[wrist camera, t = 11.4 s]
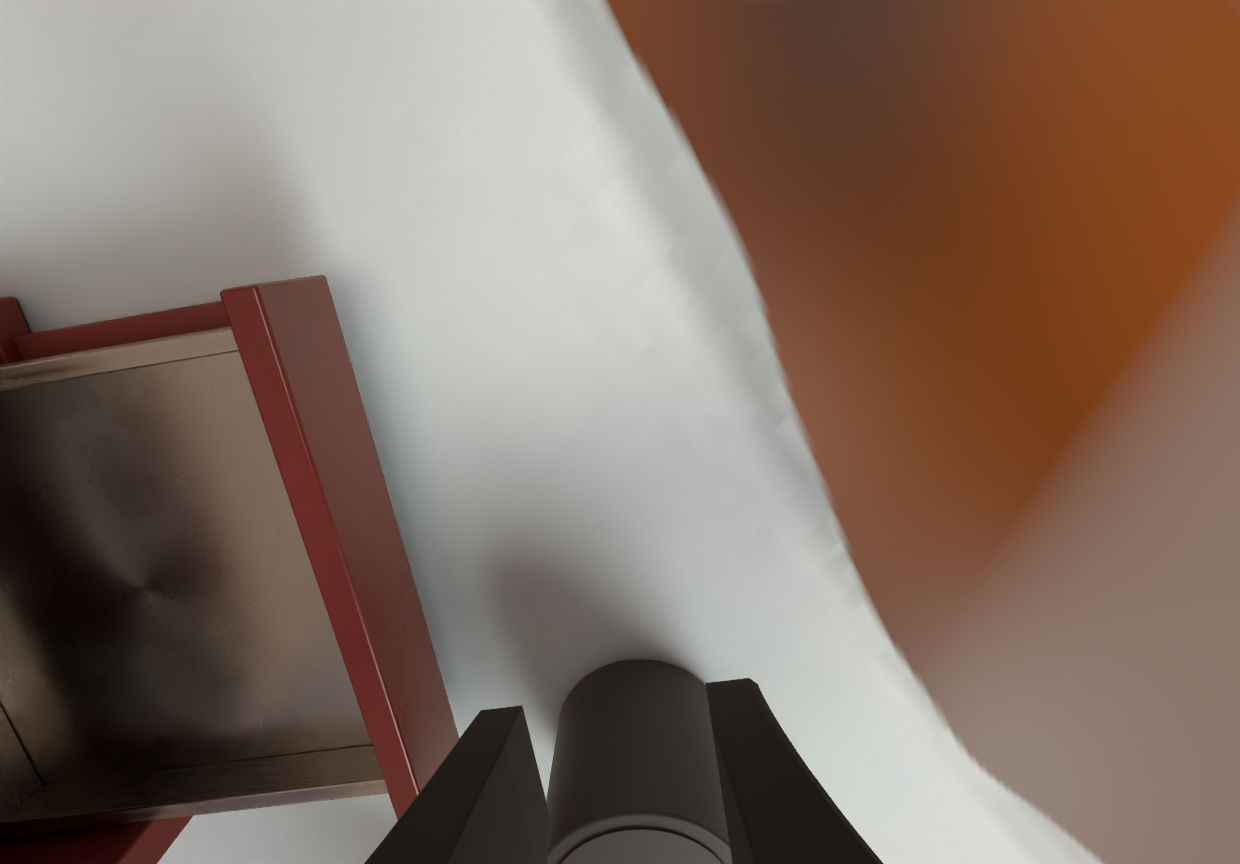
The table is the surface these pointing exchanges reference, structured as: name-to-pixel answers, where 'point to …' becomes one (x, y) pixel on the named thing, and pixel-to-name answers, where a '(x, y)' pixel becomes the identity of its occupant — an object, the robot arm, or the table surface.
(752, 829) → the robot arm
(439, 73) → the table surface
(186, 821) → the red toy microwave
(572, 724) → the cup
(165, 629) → the dark red drawer
